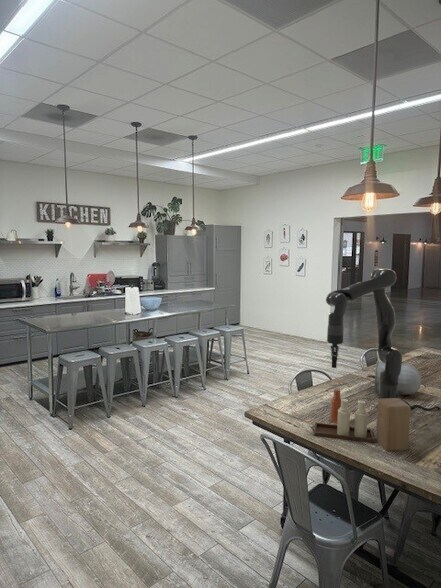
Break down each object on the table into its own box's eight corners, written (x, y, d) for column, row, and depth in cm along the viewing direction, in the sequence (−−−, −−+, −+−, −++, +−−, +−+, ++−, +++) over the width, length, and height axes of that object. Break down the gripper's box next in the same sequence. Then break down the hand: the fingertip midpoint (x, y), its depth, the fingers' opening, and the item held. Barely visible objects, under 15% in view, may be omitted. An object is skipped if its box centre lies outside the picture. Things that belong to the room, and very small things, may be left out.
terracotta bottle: (341, 419, 198) (342, 388, 196) (341, 424, 193) (343, 392, 191) (330, 418, 199) (331, 387, 197) (330, 422, 194) (331, 391, 192)
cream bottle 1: (349, 431, 184) (350, 398, 182) (349, 437, 178) (351, 402, 177) (336, 430, 185) (338, 397, 183) (337, 435, 180) (338, 401, 178)
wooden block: (375, 440, 176) (377, 397, 174) (396, 439, 177) (399, 397, 175) (386, 452, 166) (388, 406, 164) (408, 451, 167) (411, 406, 165)
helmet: (363, 394, 234) (420, 402, 220) (363, 364, 232) (421, 369, 218) (368, 384, 250) (421, 391, 236) (368, 356, 249) (422, 361, 234)
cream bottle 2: (366, 433, 182) (367, 400, 180) (367, 439, 177) (368, 404, 175) (353, 432, 183) (355, 398, 181) (354, 437, 178) (356, 403, 176)
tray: (371, 433, 184) (371, 429, 183) (373, 444, 173) (374, 439, 173) (314, 426, 190) (315, 422, 190) (314, 436, 180) (314, 432, 180)
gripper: (343, 336, 186) (342, 370, 188) (343, 330, 199) (341, 361, 201) (327, 335, 188) (325, 368, 190) (327, 329, 202) (326, 360, 203)
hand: (334, 365), depth 196 cm, fingers open, 8 cm apart
